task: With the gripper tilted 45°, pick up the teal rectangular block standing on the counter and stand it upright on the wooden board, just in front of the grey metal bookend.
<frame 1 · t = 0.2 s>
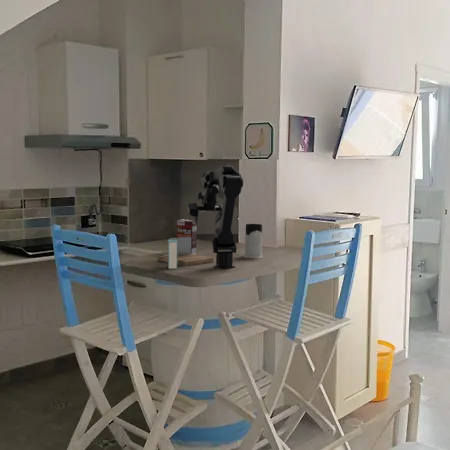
hand: (205, 223, 274), 15 cm above the worktop, tool tilted 35°, fingers open, 9 cm apart
teal rectangular block: (172, 267, 244), on the worktop
grey metal bookend: (179, 255, 262), resting on wooden board
glass holder: (251, 256, 278), on the worktop
supplement box: (186, 254, 282), on the worktop
wooden board: (185, 261, 259), on the worktop
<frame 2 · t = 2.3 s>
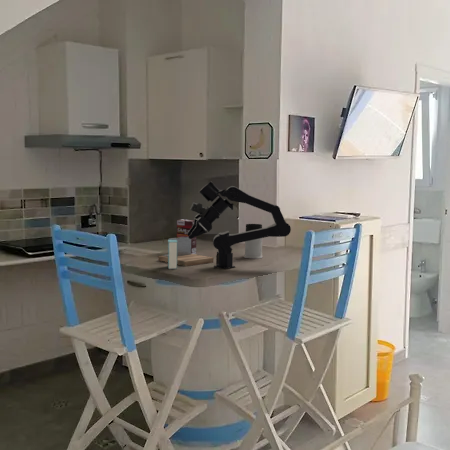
hand: (188, 236, 243), 13 cm above the worktop, tool tilted 45°, fingers open, 9 cm apart
nothing on the worktop moved.
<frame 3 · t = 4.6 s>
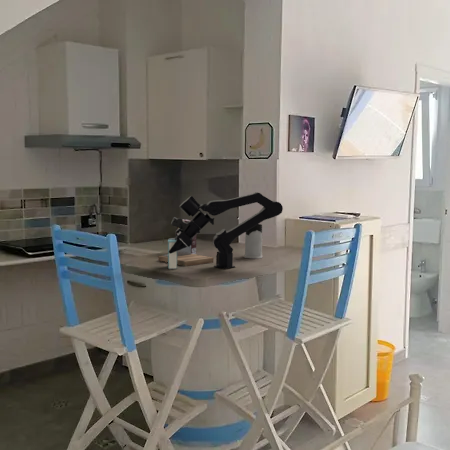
hand: (169, 251, 243), 7 cm above the worktop, tool tilted 45°, fingers closed on teal rectangular block, 6 cm apart
teal rectangular block: (172, 267, 244), on the worktop, touching gripper
everything else where it was.
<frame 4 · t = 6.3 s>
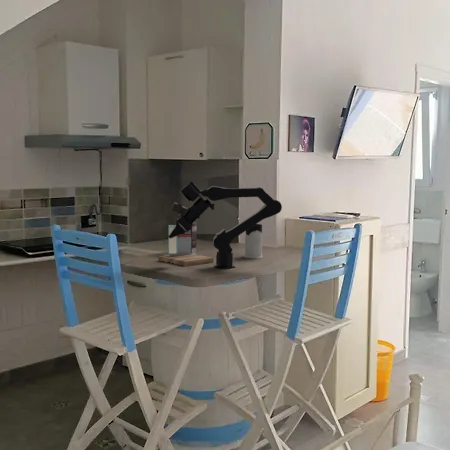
hand: (169, 236, 244), 12 cm above the worktop, tool tilted 45°, fingers closed on teal rectangular block, 6 cm apart
teal rectangular block: (172, 252, 244), point 6 cm above the worktop, touching gripper
everything else where it was.
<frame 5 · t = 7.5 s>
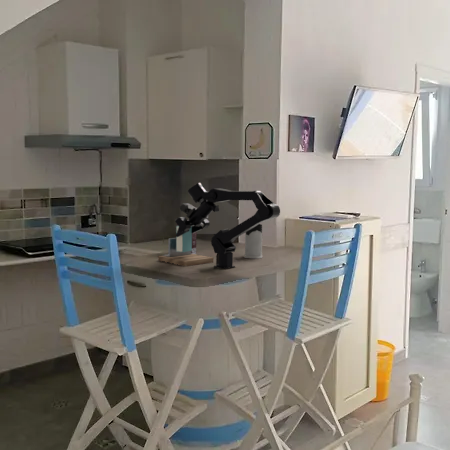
hand: (181, 235, 256), 11 cm above the worktop, tool tilted 45°, fingers closed on teal rectangular block, 6 cm apart
teal rectangular block: (183, 251, 256), point 5 cm above the worktop, touching gripper
everything else where it was.
when the fingers open (9 cm above the worktop, at t = 8.4 s): teal rectangular block stays where it is, resting on wooden board.
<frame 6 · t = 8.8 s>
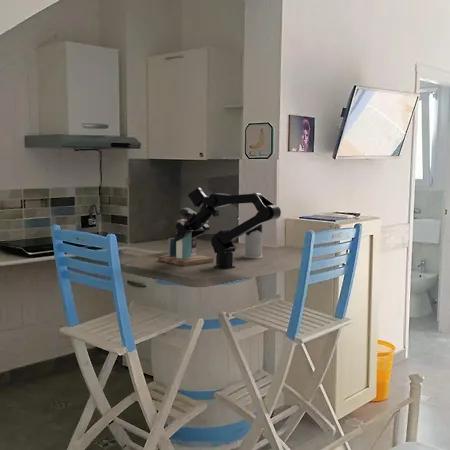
hand: (181, 239, 257), 10 cm above the worktop, tool tilted 45°, fingers open, 9 cm apart
teal rectangular block: (183, 257, 257), point 2 cm above the worktop, touching wooden board
everything else where it was.
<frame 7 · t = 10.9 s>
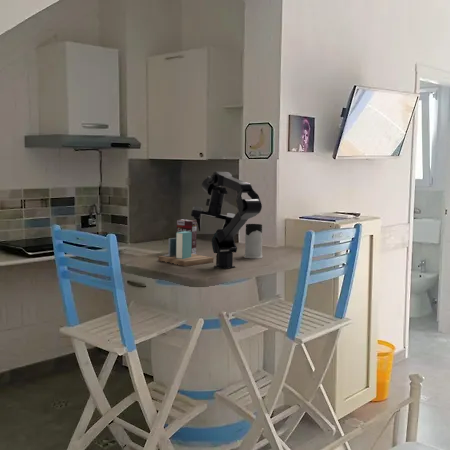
hand: (210, 233, 256), 13 cm above the worktop, tool tilted 20°, fingers open, 9 cm apart
nothing on the worktop moved.
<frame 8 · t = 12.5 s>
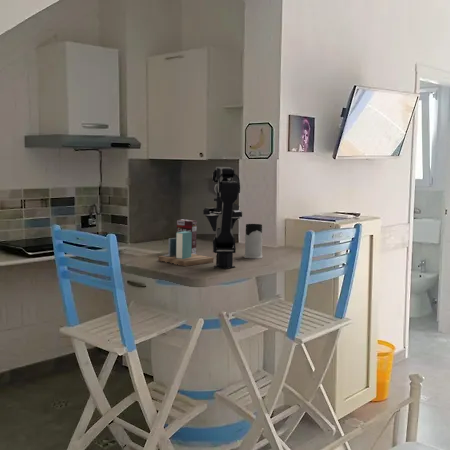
hand: (222, 232, 258), 13 cm above the worktop, tool pointing down, fingers open, 9 cm apart
nothing on the worktop moved.
at the end: teal rectangular block inside the target area on the wooden board (0.0 cm from its centre), point 2.0 cm above the wooden board's base; teal rectangular block tilted 0°; the gripper is holding nothing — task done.
